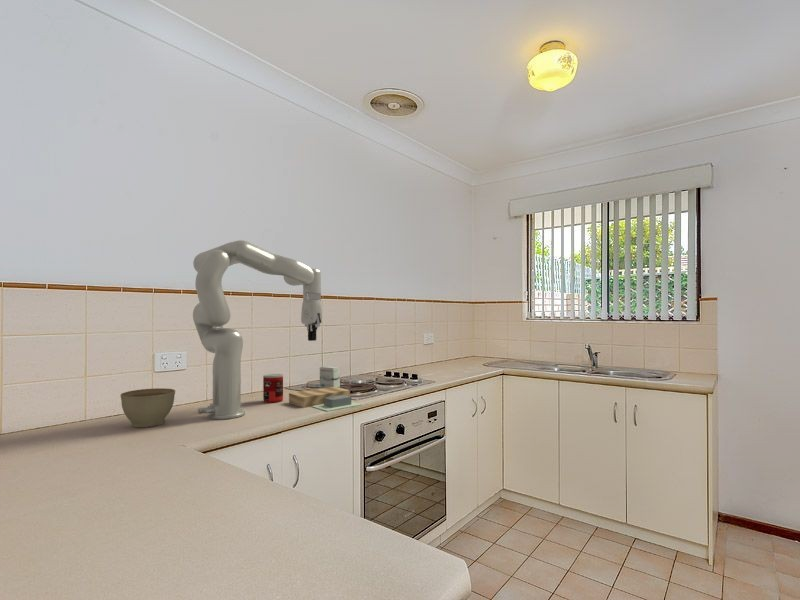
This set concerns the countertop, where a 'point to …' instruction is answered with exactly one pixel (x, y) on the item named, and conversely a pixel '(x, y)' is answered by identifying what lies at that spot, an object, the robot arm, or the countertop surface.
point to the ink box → (329, 377)
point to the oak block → (315, 396)
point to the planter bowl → (147, 406)
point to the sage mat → (335, 407)
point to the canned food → (273, 388)
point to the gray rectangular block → (337, 401)
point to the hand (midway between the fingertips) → (312, 340)
